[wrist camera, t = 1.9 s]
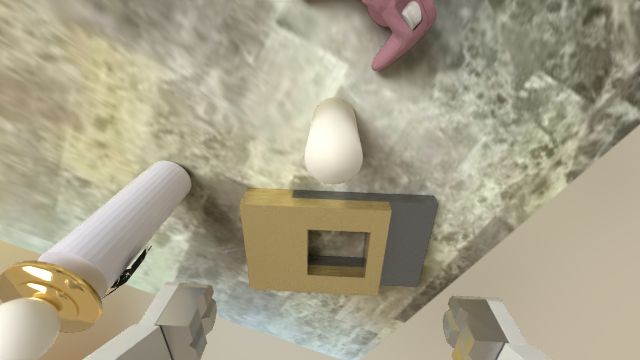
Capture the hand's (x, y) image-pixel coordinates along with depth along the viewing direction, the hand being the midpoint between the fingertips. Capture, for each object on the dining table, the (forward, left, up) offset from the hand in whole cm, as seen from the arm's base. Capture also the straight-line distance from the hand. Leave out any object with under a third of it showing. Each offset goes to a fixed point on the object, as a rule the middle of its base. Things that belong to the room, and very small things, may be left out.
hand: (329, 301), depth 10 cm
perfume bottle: (+17, +7, -21) cm, 28 cm away
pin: (0, 0, -21) cm, 21 cm away
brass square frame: (-1, +14, -21) cm, 25 cm away
